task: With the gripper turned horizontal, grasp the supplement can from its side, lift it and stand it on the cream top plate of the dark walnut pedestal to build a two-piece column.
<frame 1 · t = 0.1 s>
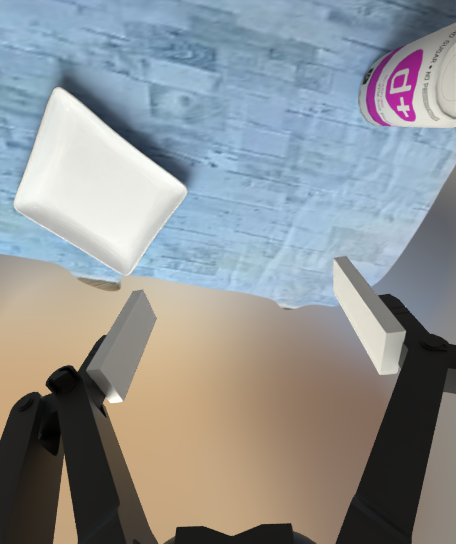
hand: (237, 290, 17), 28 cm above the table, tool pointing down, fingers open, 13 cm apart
salad plate: (107, 193, 43), on the table
supplement can: (386, 91, 34), on the table
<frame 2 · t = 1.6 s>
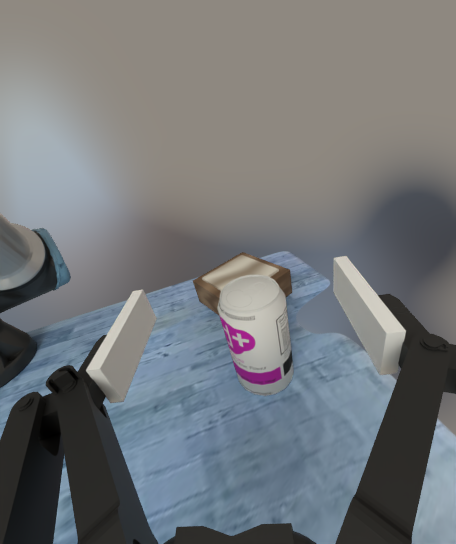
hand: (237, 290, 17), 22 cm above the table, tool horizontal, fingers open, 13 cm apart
walnut pedestal: (244, 297, 53), on the table
supplement can: (265, 373, 37), on the table
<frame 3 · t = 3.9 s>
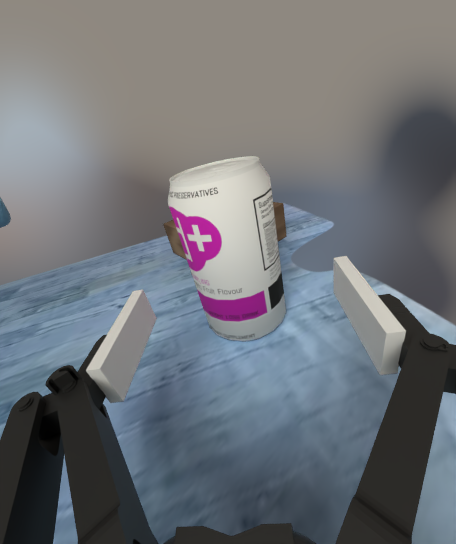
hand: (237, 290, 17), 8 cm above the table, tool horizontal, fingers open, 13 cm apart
walnut pedestal: (227, 244, 43), on the table
supplement can: (247, 317, 27), on the table
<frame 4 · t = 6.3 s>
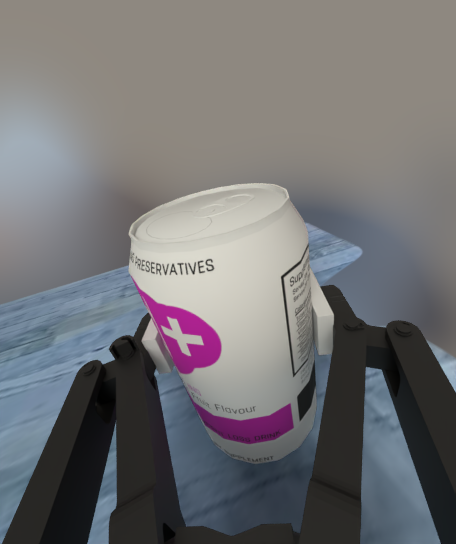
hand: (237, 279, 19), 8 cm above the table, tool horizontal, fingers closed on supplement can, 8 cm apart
supplement can: (258, 404, 19), on the table, touching gripper
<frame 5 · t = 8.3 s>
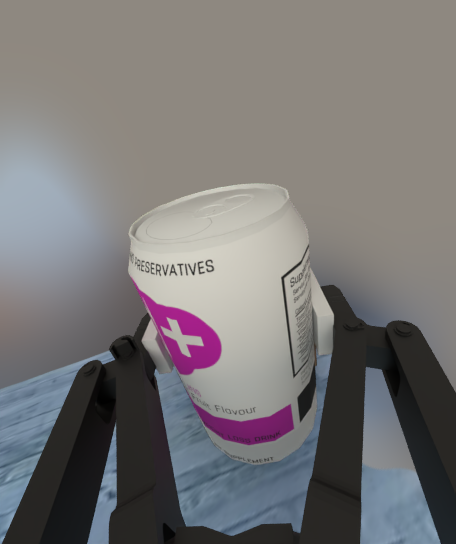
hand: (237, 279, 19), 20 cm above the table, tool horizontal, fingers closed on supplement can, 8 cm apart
supplement can: (258, 405, 19), point 11 cm above the table, touching gripper
when the fingers open (15 cm above the table, at t = 10.5 s): supplement can drops 1 cm, resting on walnut pedestal.
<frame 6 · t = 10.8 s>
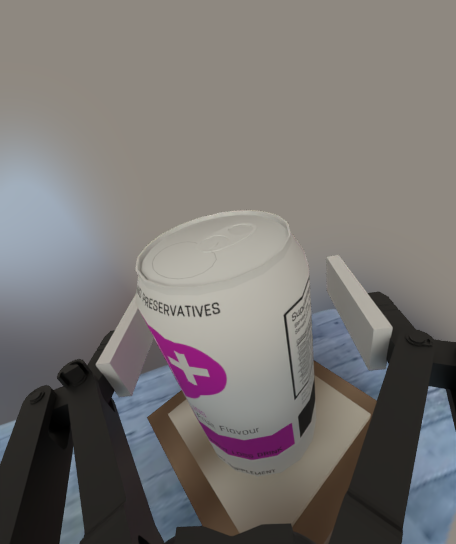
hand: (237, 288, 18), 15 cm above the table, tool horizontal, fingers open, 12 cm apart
walnut pedestal: (270, 451, 22), on the table
supplement can: (259, 415, 19), point 6 cm above the table, touching walnut pedestal
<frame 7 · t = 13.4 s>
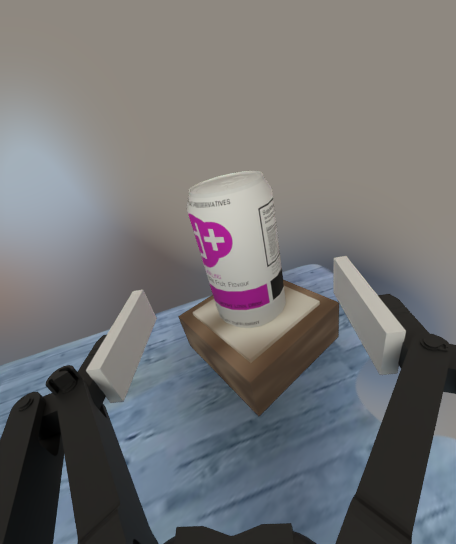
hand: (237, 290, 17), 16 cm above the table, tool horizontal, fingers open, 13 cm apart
walnut pedestal: (259, 341, 34), on the table
supplement can: (252, 308, 31), point 6 cm above the table, touching walnut pedestal
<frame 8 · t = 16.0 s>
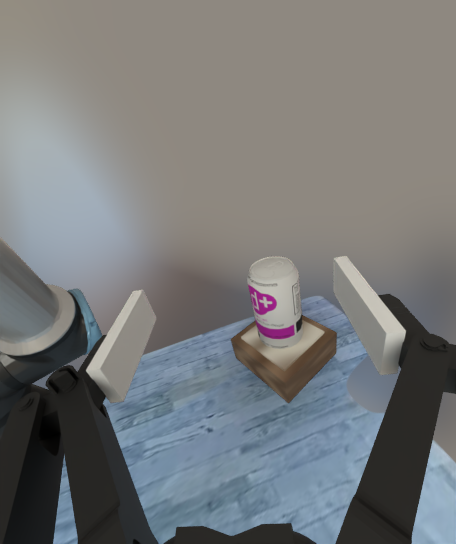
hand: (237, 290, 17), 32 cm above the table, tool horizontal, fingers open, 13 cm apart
walnut pedestal: (284, 355, 51), on the table
supplement can: (280, 335, 48), point 6 cm above the table, touching walnut pedestal
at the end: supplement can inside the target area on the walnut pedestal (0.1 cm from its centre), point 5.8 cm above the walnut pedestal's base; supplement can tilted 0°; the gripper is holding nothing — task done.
